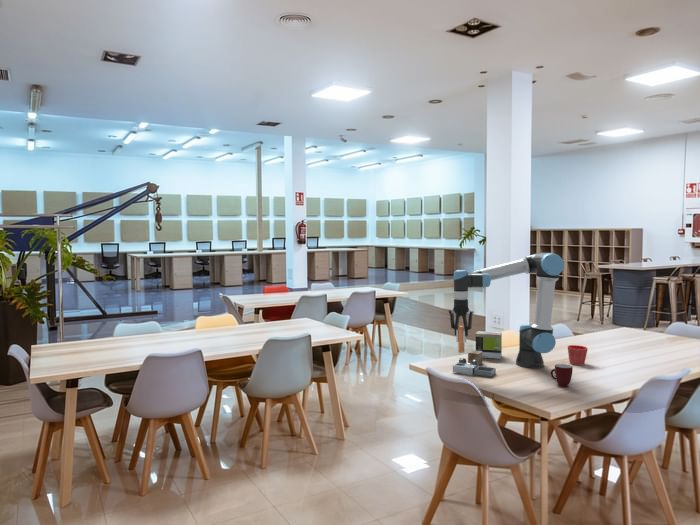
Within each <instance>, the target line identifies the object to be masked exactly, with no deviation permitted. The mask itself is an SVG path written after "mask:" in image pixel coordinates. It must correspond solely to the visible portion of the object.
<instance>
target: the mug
mask: <svg viewBox="0 0 700 525" xmlns="http://www.w3.org/2000/svg"><path fill="white" fill-rule="evenodd" d="M554 373H555V376H554ZM572 376H573V366H572V364H571V365H570V364H564V363H558V364H555V365H554V368H553V369H552V370H551V371H550V377H551V378H552V379H553V380H556V383H557V385H558V387H561V388H567V387H569V385H570V383H571V381H572Z"/></svg>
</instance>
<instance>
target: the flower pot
mask: <svg viewBox="0 0 700 525" xmlns="http://www.w3.org/2000/svg"><path fill="white" fill-rule="evenodd" d="M567 352H568V353H567V354H568V360H569V364H571V365H574V366H585V362H586V360H587V354H588V347H587V346H583V345H576V344H570V345H567Z"/></svg>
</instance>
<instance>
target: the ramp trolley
mask: <svg viewBox="0 0 700 525" xmlns="http://www.w3.org/2000/svg"><path fill="white" fill-rule="evenodd" d="M479 366H480V365H479V362H478V360H472V362H471V364H469V363H468V362H467V358H464V357H460V358H459V360H458V362H455V363H454V364H453V365H452V373H453V372H456V373H455V374H458V373H462V374H461V375H465V374H468V375H467V376H472V375H473V376H475V375H474V369H476V368H477V367H479Z"/></svg>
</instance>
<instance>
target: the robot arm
mask: <svg viewBox="0 0 700 525" xmlns="http://www.w3.org/2000/svg"><path fill="white" fill-rule="evenodd" d="M564 265H565V264H564V260H563V258H562V257H561V256H560V255H558V254H556V253H552V252H538V253H537V252H536V253H533V254H531V255H527V256H522V258H521V259H518V260H514V261H511V262H507V263H503V264H502V263H501V264H498V265H494V266H489V267H486V268H485V267H484V268H481V269H477V270H472V271H471V270H470V271H468V270H467V269H457V270H455V271H454V272H453V298H454V299H453V308H452V309H450V310H448V313H449V316H450V318H449V319H450V327H451V329H453V330H454V336H456V339H455V340H456V343H458V326H460V325H459V324H460V318H461V317H462V318H461V319H462V323H463V326H464V331H463V343H464V344H465V343H467V337H468V336H469V331H470V330H471V329H472V324H473V314H474V311H473V310H470V309H469V299H468V298H469V289H470V288H489V287H490V285H491V283H492V282H491V281H495V280H499V279H503V278H508V277H511V276H512V277H513V276H516V275H520V274H526V275H527V274H528V275H529V274H535V276H536V278H537V281H538V282H537V291H536V300H535V301H536V302H535V311H534V319H533V324H522V325H520V326H519V330H518V332H519V342H518V344H519V345H518V346H519V347H518V348H519V349H518V353H517V356H516V359H515V365H517V366H519V367H524V368H531V369H532V368H533V369H534V368H537V369H538V368H542V367H544V366H545V361H544V359H543V358H544V357H543V354H548V353H550V352H551V351H553V350H554V349H555V347H556V344H557V343H556V338H555V336H554V327H553V326H552V317H553V316H552V315H553V308H554V299H555V289H556V288H555V287H556V282H557V281H559V279H560V273H562V272H563V270H564ZM467 315H468V319H467Z"/></svg>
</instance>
